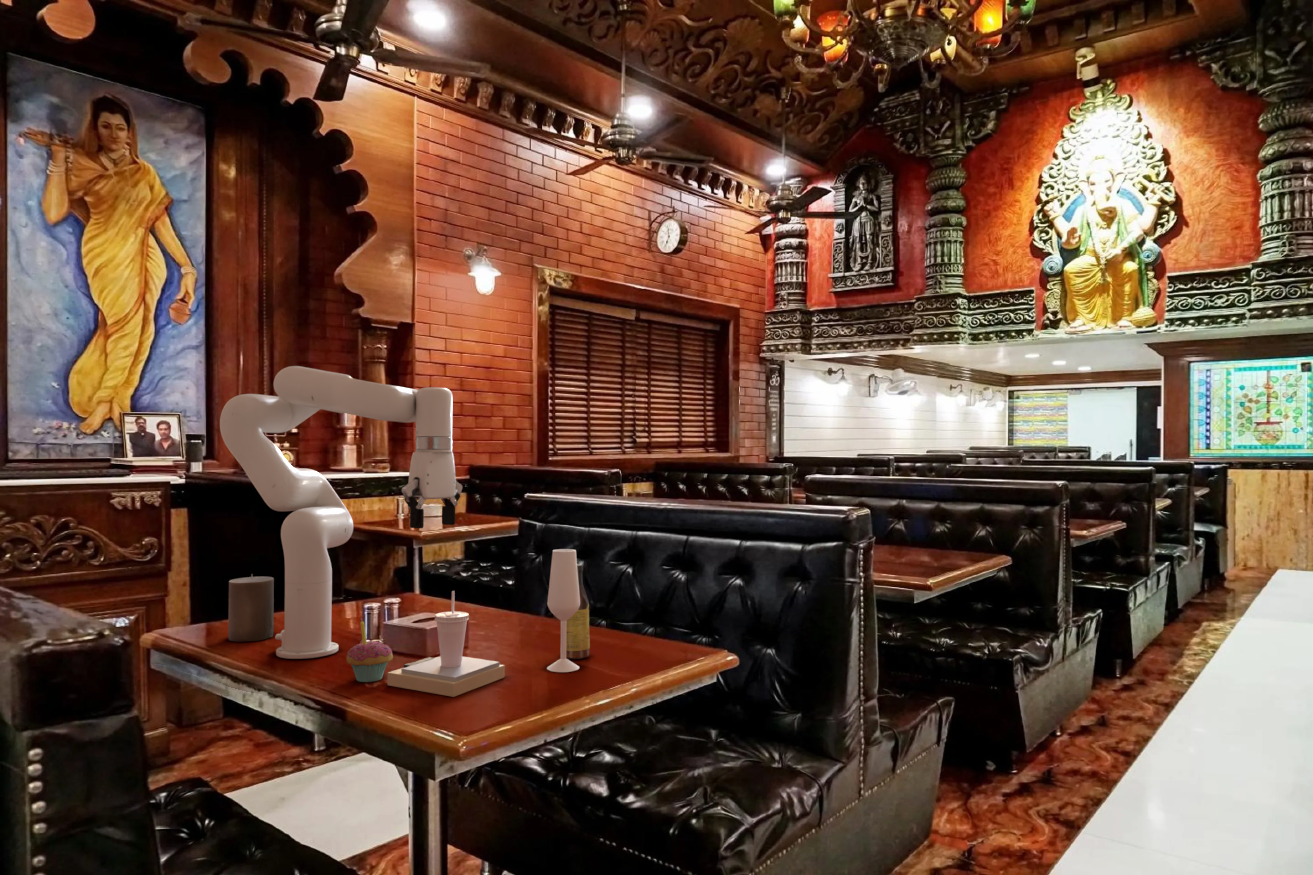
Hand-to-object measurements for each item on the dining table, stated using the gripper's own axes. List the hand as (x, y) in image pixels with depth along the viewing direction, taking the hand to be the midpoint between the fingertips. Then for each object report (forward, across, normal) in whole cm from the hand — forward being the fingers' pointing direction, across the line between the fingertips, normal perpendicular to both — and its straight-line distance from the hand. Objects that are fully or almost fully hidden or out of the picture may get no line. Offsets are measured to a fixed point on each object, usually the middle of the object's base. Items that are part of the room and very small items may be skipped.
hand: (432, 526), depth 176 cm
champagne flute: (+28, -8, +28) cm, 41 cm away
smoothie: (+25, +11, +15) cm, 31 cm away
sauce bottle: (+28, -17, +25) cm, 42 cm away
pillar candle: (+28, +4, -52) cm, 59 cm away
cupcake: (+28, +17, 0) cm, 33 cm away
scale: (+28, +11, +14) cm, 33 cm away
